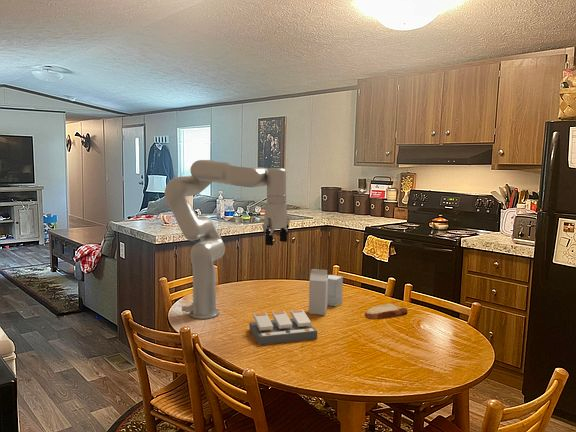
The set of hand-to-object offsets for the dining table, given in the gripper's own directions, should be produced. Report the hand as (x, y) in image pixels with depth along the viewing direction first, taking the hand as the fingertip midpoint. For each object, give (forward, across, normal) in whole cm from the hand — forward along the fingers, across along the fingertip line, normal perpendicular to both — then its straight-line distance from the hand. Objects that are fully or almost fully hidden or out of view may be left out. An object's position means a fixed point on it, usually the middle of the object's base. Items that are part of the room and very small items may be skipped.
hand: (276, 243), depth 191 cm
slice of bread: (+35, -40, +30) cm, 61 cm away
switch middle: (+28, +6, +7) cm, 29 cm away
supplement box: (+34, -39, +4) cm, 52 cm away
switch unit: (+34, +7, +8) cm, 35 cm away
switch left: (+28, +12, +2) cm, 30 cm away
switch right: (+28, 0, +11) cm, 30 cm away
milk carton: (+34, -24, +5) cm, 42 cm away
